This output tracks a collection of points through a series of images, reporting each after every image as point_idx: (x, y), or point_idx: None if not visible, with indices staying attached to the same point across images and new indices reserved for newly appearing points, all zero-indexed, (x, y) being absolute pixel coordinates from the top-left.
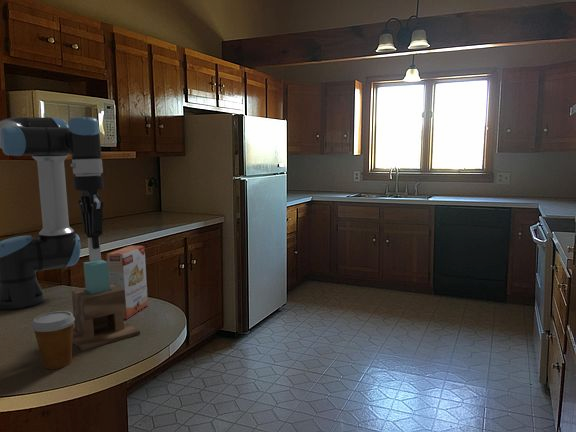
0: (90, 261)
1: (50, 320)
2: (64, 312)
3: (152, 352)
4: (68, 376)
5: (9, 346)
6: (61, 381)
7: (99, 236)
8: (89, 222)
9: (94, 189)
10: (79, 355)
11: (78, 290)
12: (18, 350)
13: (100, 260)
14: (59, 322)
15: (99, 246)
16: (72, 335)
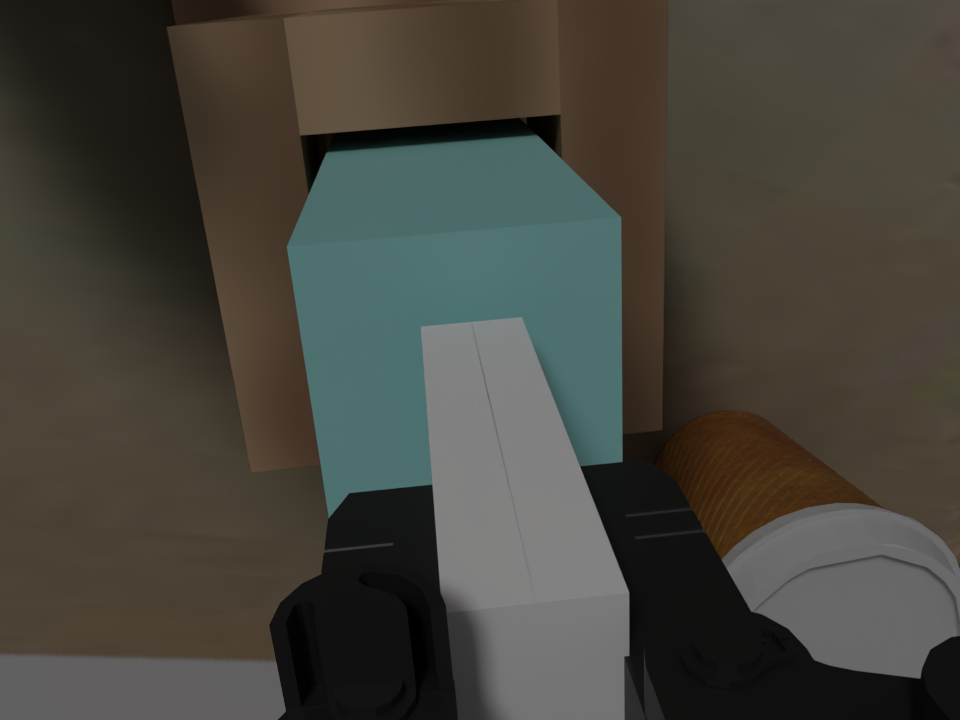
0: (318, 431)
1: (876, 666)
2: (784, 577)
3: None
4: (916, 455)
5: (260, 640)
6: (942, 488)
7: (704, 606)
8: None
9: None
10: (693, 361)
11: (303, 417)
12: None
13: (358, 279)
14: None
15: (565, 446)
16: (833, 475)
